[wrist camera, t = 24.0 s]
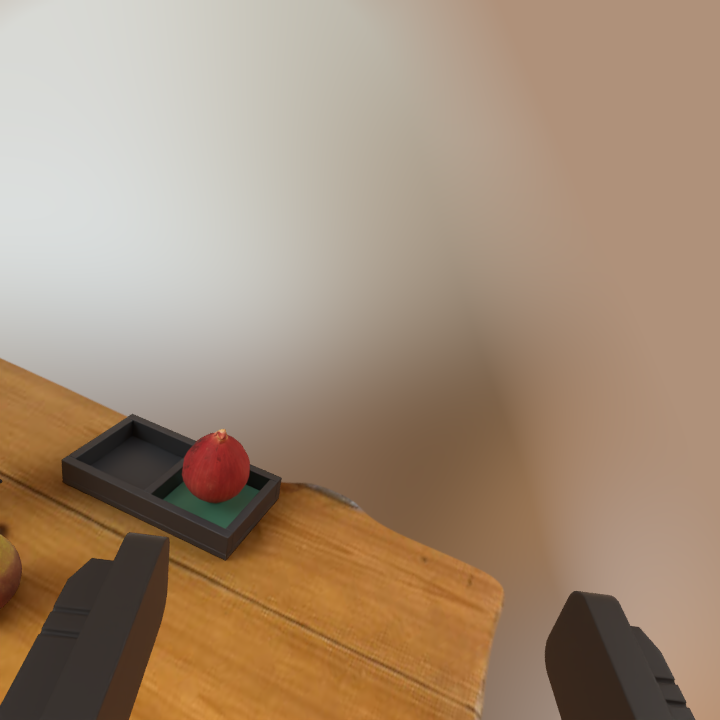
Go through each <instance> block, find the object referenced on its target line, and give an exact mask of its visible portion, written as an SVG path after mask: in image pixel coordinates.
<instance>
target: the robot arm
mask: <svg viewBox="0 0 720 720" xmlns="http://www.w3.org/2000/svg"><path fill="white" fill-rule="evenodd" d="M169 544H170V542H169V538H168V537H162V536H154V535H146V534H138V533H130V532H129V533H128V534H127V535H126V537H125V538H124V540H123V542H122V544H121V546H120V549H119V551H118V553H117V555H116V557H115V559H114V561H111V560H103V559H95V558H92V559H90V560H89V561H88V562H87V563H86V564H85V565H84V566H83V567H81V568H80V569H79V570H78V571H77V572H76V573H75V574H74V575H73V576H71V577H70V578H69V579H68V580H67V582H66V584H65V586H64V588H63V590H62V592H61V594H60V595H59V597H58V599H57V601H56V603H55V605H54V608H53V611H52V612H50V614H49V616H48V618H47V620H46V622H45V623H44V625H43V627H42V631H41V633H40V634H39V635H38V636H37V638H36V640H35V642H34V644H33V646H32V648H31V649H30V651H29V653H28V655H27V657H26V659H25V661H24V663H23V664H22V666H21V668H20V670H19V672H18V674H17V676H16V677H15V679H14V681H13V683H12V685H11V687H10V689H9V690H8V692H7V694H6V696H5V698H4V700H3V702H2V704H1V705H0V720H129V717H130V714H131V711H132V708H133V705H134V702H135V699H136V696H137V693H138V690H139V687H140V684H141V681H142V678H143V675H144V672H145V669H146V666H147V663H148V660H149V658H150V655H151V652H152V649H153V646H154V643H155V640H156V637H157V634H158V631H159V628H160V624H161V621H162V617H163V613H164V609H165V603H166V597H167V586H168V565H169ZM545 663H546V670H547V674H548V677H549V680H550V683H551V686H552V690H553V693H554V696H555V700H556V703H557V706H558V709H559V712H560V716H561V719H562V720H695V718H694V716H693V714H692V712H691V710H690V708H687V707H686V700H685V699H684V697H683V695H682V693H681V691H680V689H679V687H678V685H675V683H674V680H675V679H674V677H673V675H672V673H671V671H670V669H669V667H668V666H667V663H666V662H665V659H664V657H663V655H662V653H661V652H660V650H659V649H658V648H657V647H656V646H655V645H654V644H653V642H652V641H651V640H650V639H649V638H648V637H647V636H646V634H645V633H644V632H643V631H642V630H641V629H640V628H639V627H634V626H630V624H629V622H628V620H627V618H626V616H625V614H624V612H623V610H622V608H621V605H620V604H619V602H618V601H617V599H616V598H615V597H613V596H610V595H603V594H596V593H588V592H580V591H574V592H573V593H571V594H570V596H569V598H568V599H567V602H566V603H565V605H564V608H563V609H562V611H561V613H560V615H559V617H558V619H557V621H556V623H555V625H554V627H553V629H552V631H551V633H550V635H549V637H548V639H547V642H546V648H545Z"/></svg>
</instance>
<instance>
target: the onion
mask: <svg viewBox="0 0 720 720" xmlns="http://www.w3.org/2000/svg"><path fill="white" fill-rule="evenodd" d="M249 471H250V462H249V458H248V455H247V453H246V452H245V450H244V448H243V446H242V445H241V444H240V443H239V442H238V441H237V440H236V439H234V438H233V437H231V436H229V435H227V434H226V430H225V429H221V430H218V431H217V432H216V433H211V434H208V435H206V436H204V437H202V438H200V439H199V440H198V441H196V443H195V444H194V445H193V446H192V447H191V448H190V449H189V450H188V451H187V453H186V455H185V457H184V462H183V469H182V477H183V481H184V483H185V485H186V486H187V488H188V490H189V491H190V492H191V493H192V494H193V495H194V496H196V497H197V498H199V499H200V500H203V501H206V502H209V503H220V502H225V501H227V500H230V499H232V498H233V497H235V496H237V495H238V494H239V493H240V491H241V490H242V489H243V487H244V486H245V485H246V483H247V481H248V477H249Z"/></svg>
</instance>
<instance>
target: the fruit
mask: <svg viewBox="0 0 720 720" xmlns="http://www.w3.org/2000/svg"><path fill="white" fill-rule="evenodd" d="M0 483H2V480H1V479H0ZM21 573H22V565H21V560H20V557H19V554H18V552H17V550H16V548H15V547H14V546H13V545H12V544H11V543H10V541H8V540H7V539H6V538H5V537H3V536H2V535H1V534H0V608H2V607H3V606H4V605H5V604H6V603H7V602H8V601H9V600H10V599H11V598H12V597H13V595H14V594H15V592H16V591H17V589H18V587H19V584H20V579H21Z"/></svg>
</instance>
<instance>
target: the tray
mask: <svg viewBox="0 0 720 720" xmlns="http://www.w3.org/2000/svg"><path fill="white" fill-rule="evenodd" d="M195 443H196V441H195V440H192V439H190V438H188V437H185V436H182V435H181V434H178V433H176V432H173V431H171V430H169V429H167V428H164V427H162V426H160V425H157V424H155V423H152V422H150V421H148V420H146V419H143V418H141V417H139V416H136V415H134V414H132V415H130V416H128V417H127V418H125V419H124V420H122V421H121V422H119V423H118V424H116V425H115V426H113V427H112V428H110V429H108V430H107V431H105V432H104V433H102V434H101V435H99V436H98V437H96V438H95V439H93V440H92V441H90V442H88V443H87V444H85V445H84V446H82V447H81V448H79V449H78V450H76V451H75V452H73V453H71V454H70V455H69V456H67V457H65V458H64V459H62V476H63V482H64V483H66V484H68V485H70V486H72V487H74V488H76V489H78V490H80V491H82V492H84V493H86V494H88V495H91V496H93V497H95V498H97V499H99V500H101V501H103V502H105V503H107V504H109V505H111V506H113V507H115V508H118V509H120V510H122V511H124V512H126V513H128V514H130V515H132V516H134V517H136V518H138V519H140V520H142V521H145V522H147V523H149V524H151V525H153V526H155V527H157V528H159V529H161V530H163V531H165V532H167V533H169V534H172V535H174V536H176V537H178V538H180V539H182V540H184V541H186V542H188V543H190V544H192V545H194V546H196V547H199V548H201V549H203V550H205V551H207V552H209V553H211V554H213V555H215V556H217V557H219V558H221V559H223V560H227V558H228V557H229V556H230V555H231V554H232V553H233V551H234V550H235V549H236V548H237V547H238V545H239V544H240V543H241V542H242V541H243V540H244V538H245V537H246V536H247V535H248V534H249V532H250V531H251V530H252V529H253V528H254V527H255V525H256V524H257V523H258V522H259V521H260V519H261V518H262V517H263V516H264V515H265V514H266V512H267V511H268V510H269V509H270V508H271V506H272V505H273V504H274V503H275V502H276V501H277V499H278V497H279V491H280V485H281V479H282V478H281V477H279V476H276V475H274V474H272V473H269V472H267V471H265V470H262V469H260V468H257V467H255V466H253V465H250V471H249V477H248V481H247V483H246V485H245V486H244V487H243V489H242V490H241V491H240V493H239V494H238V495H237V496H235V497H233V498H232V499H230V500H227V501H225V502H220V503H209V502H206V501H203V500H200V499H199V498H197V497H196V496H194V495H193V494H192V493H191V492H190V491H189V490H188V488H187V486H186V485H185V483H184V481H183V477H182V469H183V462H184V457H185V455H186V453H187V451H188V450H189V449H190V448H191V447H192V446H193V445H194V444H195Z"/></svg>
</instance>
